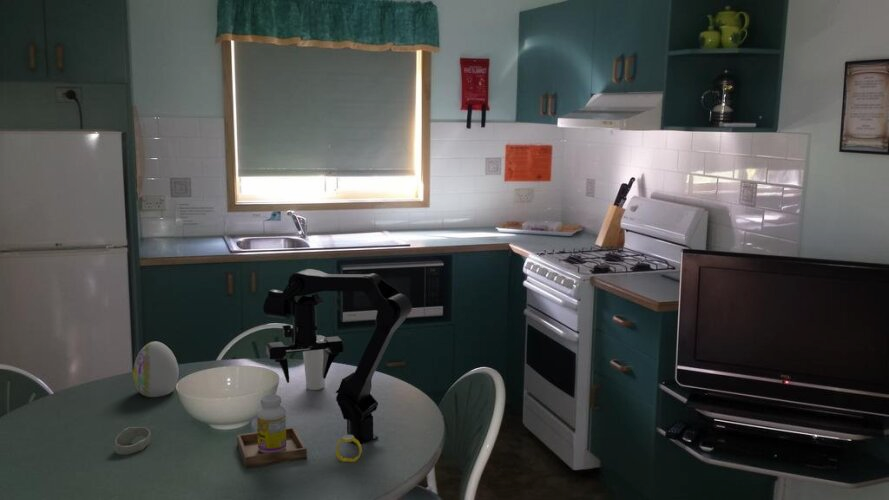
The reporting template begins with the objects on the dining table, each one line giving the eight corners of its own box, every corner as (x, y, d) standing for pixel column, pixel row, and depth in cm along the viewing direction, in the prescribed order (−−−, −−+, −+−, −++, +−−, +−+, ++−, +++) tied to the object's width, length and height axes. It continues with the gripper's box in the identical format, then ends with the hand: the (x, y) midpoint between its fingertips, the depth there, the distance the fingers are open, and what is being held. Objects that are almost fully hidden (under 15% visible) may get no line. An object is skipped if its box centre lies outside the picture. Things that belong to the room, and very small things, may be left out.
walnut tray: (294, 436, 205) (294, 427, 205) (306, 458, 192) (306, 448, 192) (237, 444, 200) (236, 434, 200) (245, 468, 187) (245, 457, 187)
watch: (335, 464, 191) (333, 439, 190) (337, 459, 193) (335, 435, 192) (361, 462, 190) (359, 438, 189) (363, 457, 193) (360, 433, 192)
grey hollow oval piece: (140, 439, 203) (139, 420, 203) (157, 444, 200) (156, 425, 199) (108, 452, 196) (107, 432, 195) (126, 458, 193) (125, 438, 192)
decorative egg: (135, 387, 240) (132, 337, 237) (179, 383, 243) (177, 334, 241) (133, 401, 228) (129, 349, 226) (179, 397, 232) (176, 346, 229)
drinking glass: (325, 392, 237) (324, 341, 235) (301, 391, 237) (300, 341, 235) (328, 384, 244) (328, 335, 241) (306, 383, 244) (304, 334, 241)
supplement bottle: (255, 446, 198) (253, 395, 196) (282, 441, 200) (281, 391, 198) (261, 457, 192) (259, 404, 190) (289, 452, 194) (288, 400, 192)
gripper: (333, 309, 216) (334, 366, 219) (261, 315, 209) (263, 374, 212) (344, 319, 206) (345, 379, 208) (269, 326, 199) (271, 388, 201)
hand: (306, 380), depth 208 cm, fingers open, 9 cm apart
